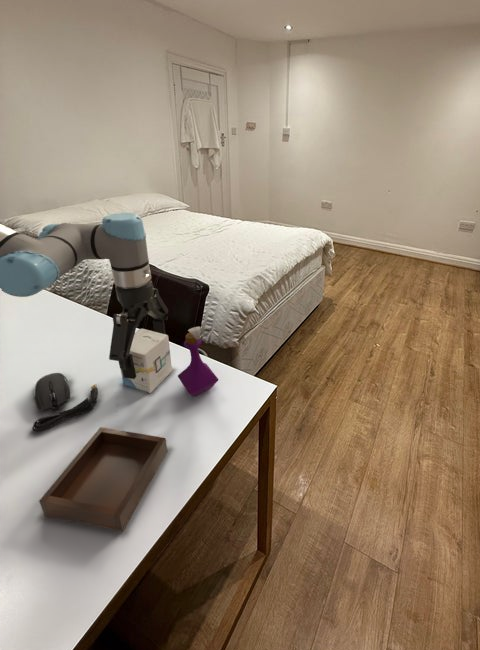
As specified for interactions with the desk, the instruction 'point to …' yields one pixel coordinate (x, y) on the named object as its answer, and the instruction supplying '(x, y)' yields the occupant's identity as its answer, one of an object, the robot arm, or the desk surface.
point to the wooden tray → (106, 479)
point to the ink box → (149, 360)
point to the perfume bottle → (196, 367)
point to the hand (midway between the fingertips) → (146, 358)
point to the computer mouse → (58, 400)
